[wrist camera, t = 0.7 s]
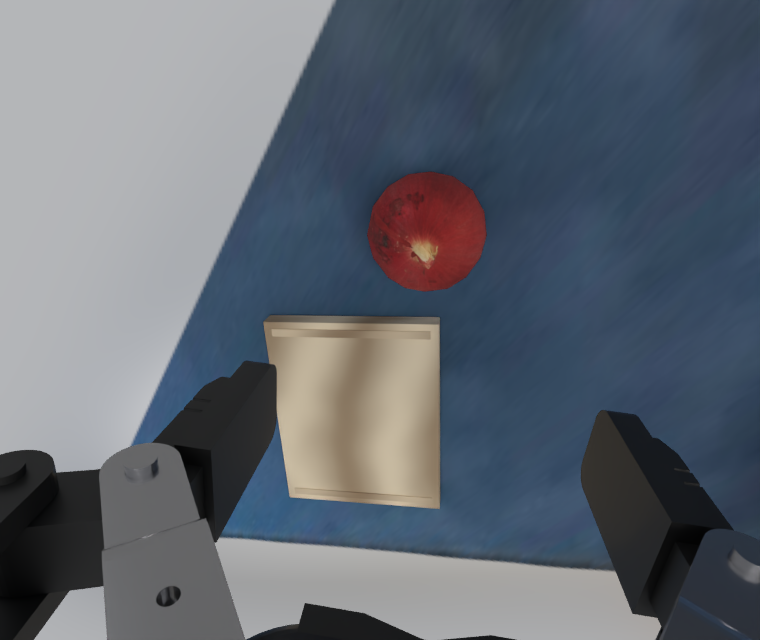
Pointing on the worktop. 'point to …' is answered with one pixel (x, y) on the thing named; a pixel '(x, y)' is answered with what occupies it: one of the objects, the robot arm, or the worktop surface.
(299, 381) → the board
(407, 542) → the worktop surface
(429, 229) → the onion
